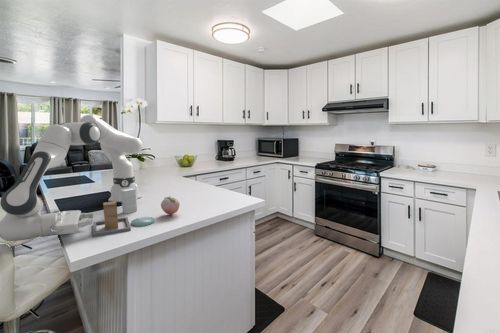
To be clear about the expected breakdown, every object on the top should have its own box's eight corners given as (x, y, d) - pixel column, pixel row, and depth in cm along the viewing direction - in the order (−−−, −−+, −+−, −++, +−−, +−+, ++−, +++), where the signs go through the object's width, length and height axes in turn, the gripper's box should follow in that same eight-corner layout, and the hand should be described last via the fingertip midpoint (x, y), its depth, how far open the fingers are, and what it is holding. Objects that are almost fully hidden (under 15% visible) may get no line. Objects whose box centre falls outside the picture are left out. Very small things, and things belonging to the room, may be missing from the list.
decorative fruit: (183, 214, 135) (183, 195, 134) (171, 218, 128) (170, 198, 127) (170, 211, 140) (170, 192, 138) (158, 215, 133) (157, 196, 131)
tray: (93, 224, 120) (93, 222, 120) (127, 219, 127) (127, 217, 127) (92, 236, 106) (92, 234, 106) (130, 230, 113) (130, 227, 113)
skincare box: (133, 209, 143) (131, 188, 141) (137, 211, 140) (135, 189, 138) (122, 212, 138) (120, 190, 136) (125, 214, 135) (124, 191, 134)
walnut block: (105, 226, 117) (103, 202, 116) (117, 224, 120) (116, 201, 118) (105, 230, 113) (103, 205, 112) (118, 228, 116) (116, 204, 114)
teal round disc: (130, 221, 125) (130, 219, 125) (152, 217, 129) (152, 215, 129) (132, 227, 116) (132, 225, 116) (156, 223, 121) (156, 221, 121)
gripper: (47, 224, 96) (90, 218, 103) (55, 209, 114) (92, 205, 121) (48, 241, 97) (92, 233, 104) (57, 223, 115) (93, 218, 122)
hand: (92, 218), depth 113 cm, fingers open, 8 cm apart
